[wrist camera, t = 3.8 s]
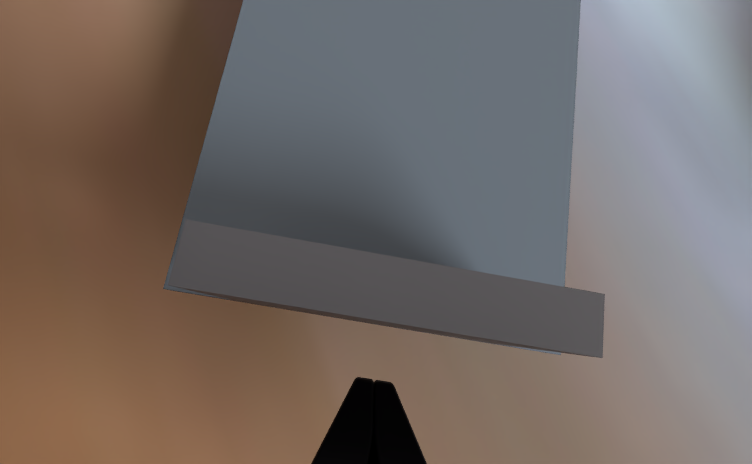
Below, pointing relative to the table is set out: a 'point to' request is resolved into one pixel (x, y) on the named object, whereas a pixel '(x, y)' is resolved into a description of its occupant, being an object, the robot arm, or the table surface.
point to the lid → (396, 169)
